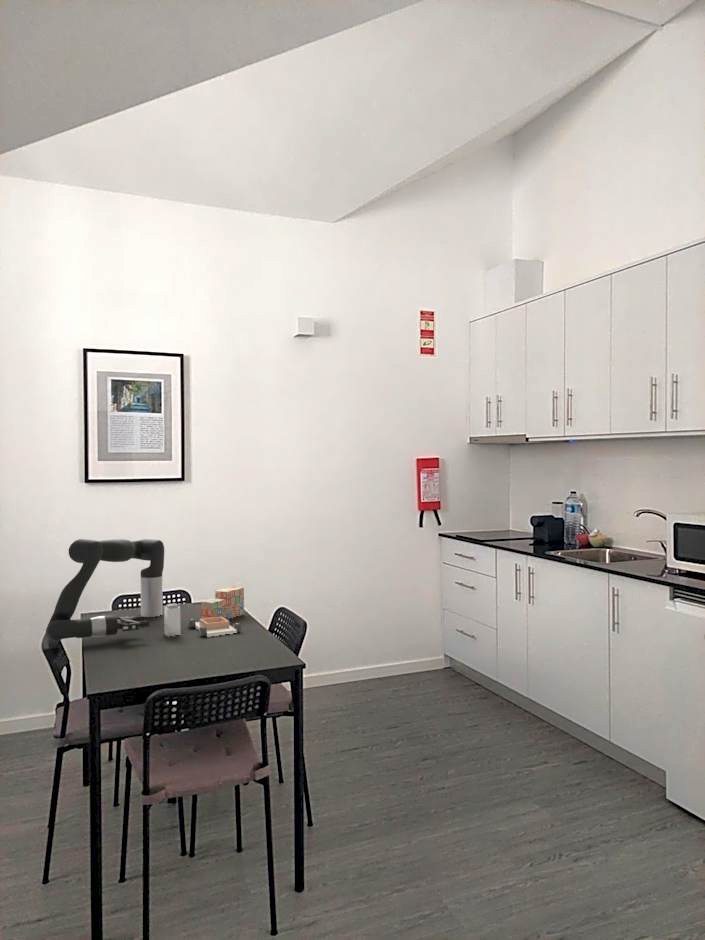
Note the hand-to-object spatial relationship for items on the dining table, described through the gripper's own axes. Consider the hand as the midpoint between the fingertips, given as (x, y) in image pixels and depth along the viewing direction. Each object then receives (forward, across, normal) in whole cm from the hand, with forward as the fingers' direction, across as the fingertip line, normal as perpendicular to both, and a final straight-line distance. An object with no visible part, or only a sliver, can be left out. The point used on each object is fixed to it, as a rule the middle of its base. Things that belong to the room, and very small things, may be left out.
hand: (146, 621), depth 287 cm
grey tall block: (+10, 0, +6) cm, 12 cm away
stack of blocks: (+36, +17, +7) cm, 41 cm away
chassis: (+27, 0, +6) cm, 28 cm away
